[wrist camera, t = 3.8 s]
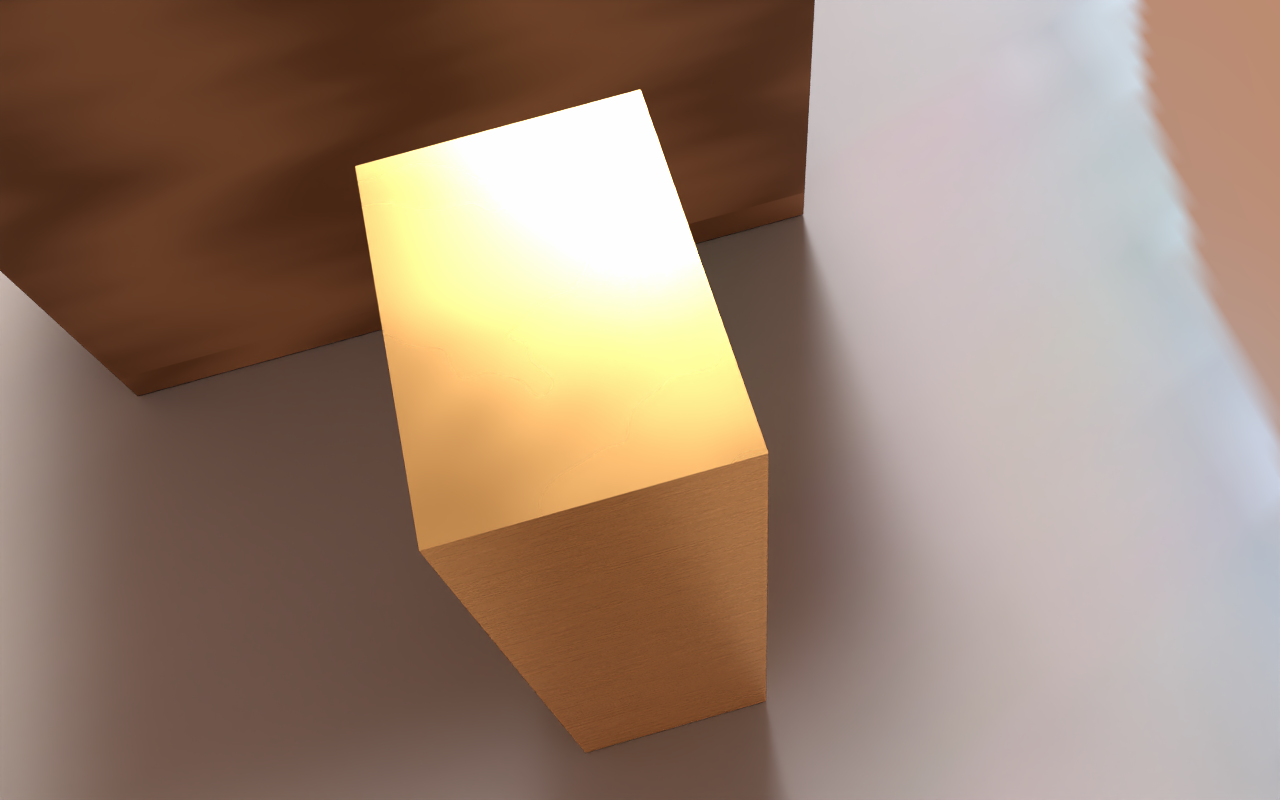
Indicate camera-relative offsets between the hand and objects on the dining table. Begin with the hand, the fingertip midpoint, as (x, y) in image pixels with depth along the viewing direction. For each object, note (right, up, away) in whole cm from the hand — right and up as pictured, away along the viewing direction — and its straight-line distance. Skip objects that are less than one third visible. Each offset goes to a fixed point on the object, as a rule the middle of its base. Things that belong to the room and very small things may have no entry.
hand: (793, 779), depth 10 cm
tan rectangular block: (-1, 0, +11) cm, 11 cm away
